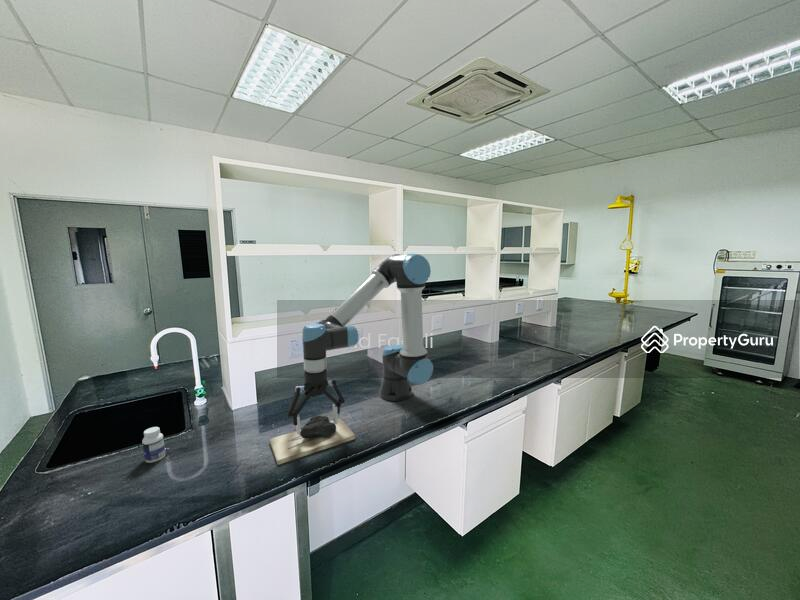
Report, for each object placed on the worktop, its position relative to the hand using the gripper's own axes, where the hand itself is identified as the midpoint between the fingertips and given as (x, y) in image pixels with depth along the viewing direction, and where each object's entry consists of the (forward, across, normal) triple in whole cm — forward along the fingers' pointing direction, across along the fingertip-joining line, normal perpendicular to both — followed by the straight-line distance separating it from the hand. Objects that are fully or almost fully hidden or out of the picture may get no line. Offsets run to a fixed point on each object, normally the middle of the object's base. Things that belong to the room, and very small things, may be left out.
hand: (317, 427), depth 112 cm
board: (+4, +2, 0) cm, 5 cm away
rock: (+3, 0, 0) cm, 3 cm away
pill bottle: (+5, +48, -18) cm, 52 cm away
